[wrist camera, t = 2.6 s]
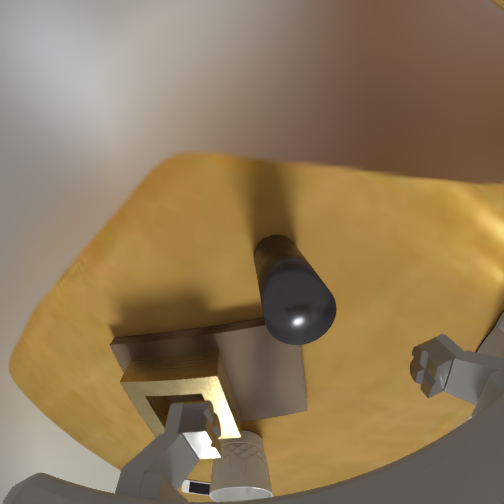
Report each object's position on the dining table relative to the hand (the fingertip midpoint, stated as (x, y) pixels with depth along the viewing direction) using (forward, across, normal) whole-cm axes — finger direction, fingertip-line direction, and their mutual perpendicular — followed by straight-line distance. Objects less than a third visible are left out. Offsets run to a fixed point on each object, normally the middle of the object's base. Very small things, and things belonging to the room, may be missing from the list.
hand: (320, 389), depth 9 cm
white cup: (+17, +8, +27) cm, 33 cm away
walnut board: (+17, +8, +13) cm, 23 cm away
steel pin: (+17, -1, 0) cm, 17 cm away
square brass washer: (+15, +11, +13) cm, 23 cm away
